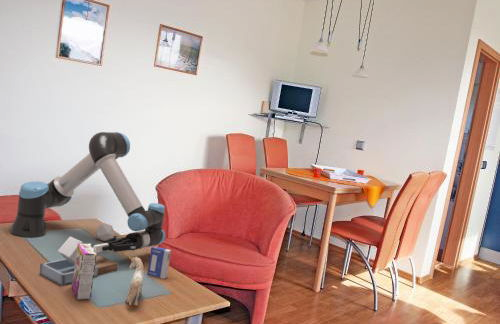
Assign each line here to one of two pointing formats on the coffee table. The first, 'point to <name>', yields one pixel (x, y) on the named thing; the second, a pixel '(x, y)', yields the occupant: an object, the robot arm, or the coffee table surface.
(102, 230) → the die
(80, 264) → the candy bar box
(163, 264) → the walkman
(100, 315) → the coffee table surface
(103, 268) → the walnut board
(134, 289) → the unicorn figurine
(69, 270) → the tray
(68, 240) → the supplement box
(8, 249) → the coffee table surface
